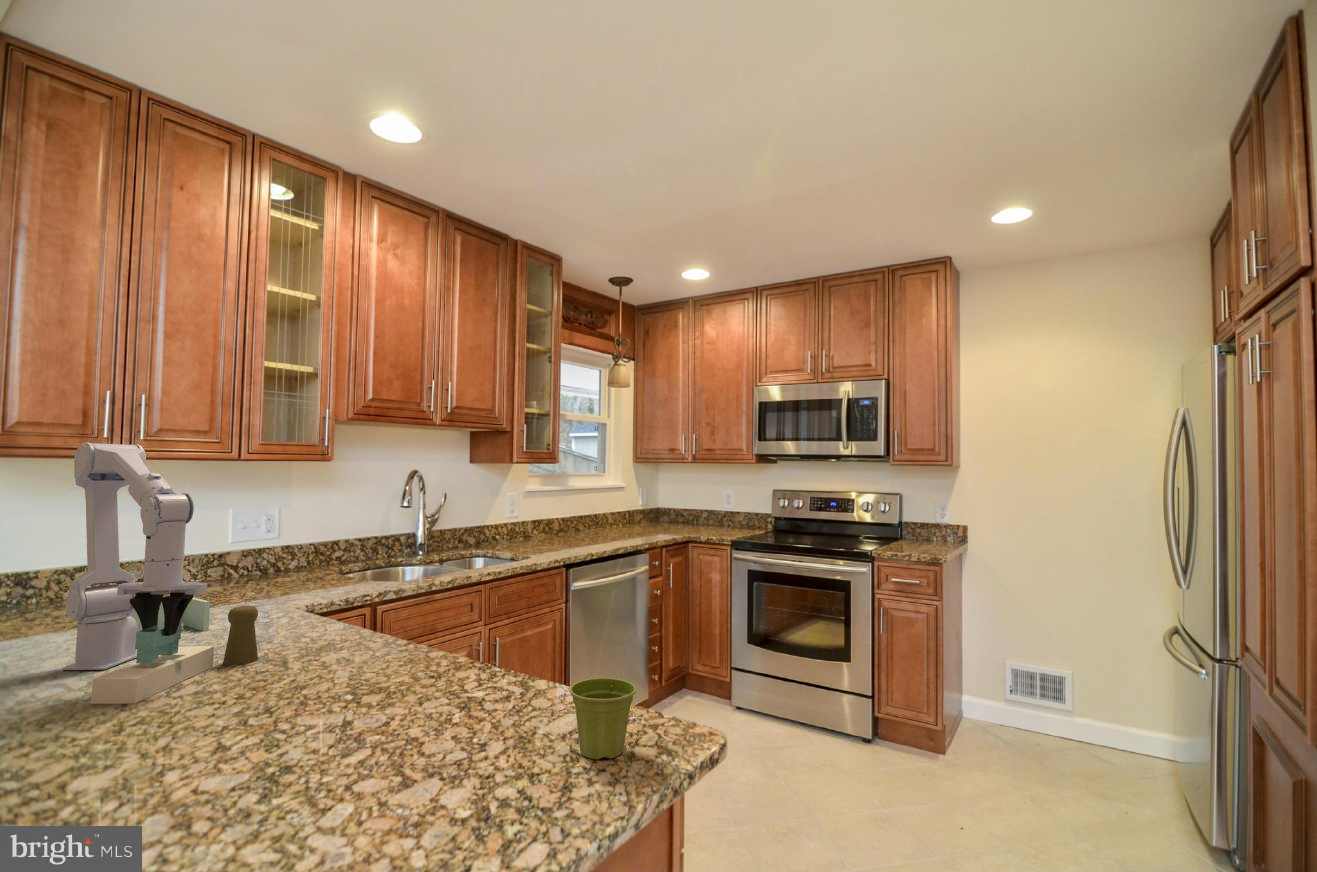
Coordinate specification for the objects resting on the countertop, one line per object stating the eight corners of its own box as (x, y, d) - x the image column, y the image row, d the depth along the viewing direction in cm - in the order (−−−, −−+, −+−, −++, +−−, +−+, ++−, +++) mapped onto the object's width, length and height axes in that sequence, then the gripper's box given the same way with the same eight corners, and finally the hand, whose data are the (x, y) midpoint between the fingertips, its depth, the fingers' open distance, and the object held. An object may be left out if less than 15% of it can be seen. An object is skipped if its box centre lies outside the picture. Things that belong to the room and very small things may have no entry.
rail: (176, 667, 124) (177, 646, 125) (212, 666, 125) (213, 646, 125) (91, 703, 104) (92, 679, 105) (135, 703, 105) (136, 678, 105)
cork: (240, 666, 125) (243, 610, 126) (215, 664, 126) (218, 608, 127) (265, 657, 131) (268, 604, 132) (240, 655, 132) (243, 602, 133)
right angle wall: (127, 636, 150) (129, 604, 150) (185, 626, 160) (187, 596, 160) (148, 643, 143) (150, 610, 144) (208, 632, 153) (210, 601, 154)
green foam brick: (163, 652, 118) (164, 622, 118) (179, 652, 118) (181, 622, 118) (134, 663, 111) (136, 631, 111) (152, 663, 111) (153, 631, 111)
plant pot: (594, 732, 95) (595, 673, 95) (648, 746, 90) (648, 684, 91) (554, 755, 87) (555, 691, 87) (610, 772, 82) (611, 704, 83)
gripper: (105, 562, 111) (100, 640, 111) (190, 562, 112) (186, 640, 111) (136, 557, 119) (131, 630, 118) (216, 557, 119) (212, 630, 119)
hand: (160, 634), depth 115 cm, fingers closed on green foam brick, 3 cm apart
